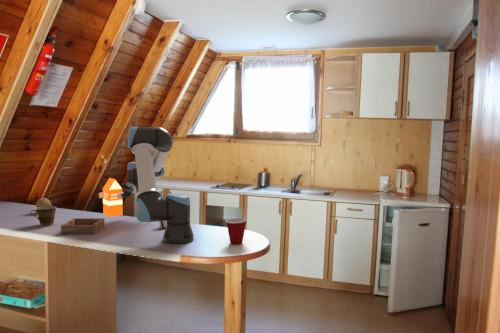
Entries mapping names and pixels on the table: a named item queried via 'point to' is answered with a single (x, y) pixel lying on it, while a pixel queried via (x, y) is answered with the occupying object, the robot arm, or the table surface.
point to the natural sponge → (43, 202)
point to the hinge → (163, 224)
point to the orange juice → (112, 199)
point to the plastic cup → (236, 230)
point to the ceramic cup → (45, 215)
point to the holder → (82, 226)
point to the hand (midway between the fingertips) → (108, 195)
